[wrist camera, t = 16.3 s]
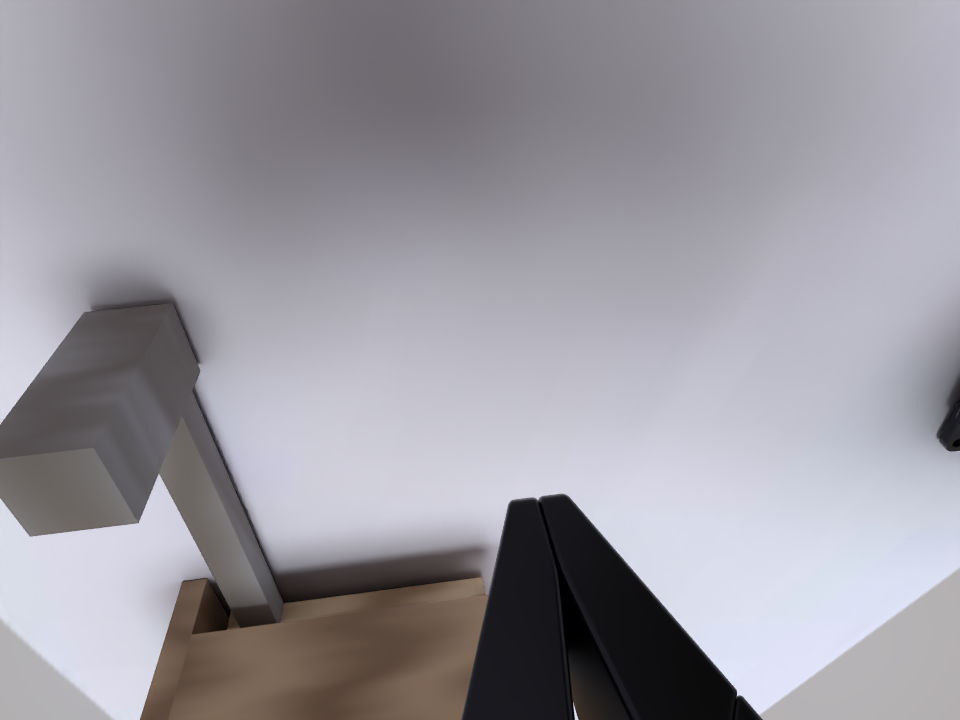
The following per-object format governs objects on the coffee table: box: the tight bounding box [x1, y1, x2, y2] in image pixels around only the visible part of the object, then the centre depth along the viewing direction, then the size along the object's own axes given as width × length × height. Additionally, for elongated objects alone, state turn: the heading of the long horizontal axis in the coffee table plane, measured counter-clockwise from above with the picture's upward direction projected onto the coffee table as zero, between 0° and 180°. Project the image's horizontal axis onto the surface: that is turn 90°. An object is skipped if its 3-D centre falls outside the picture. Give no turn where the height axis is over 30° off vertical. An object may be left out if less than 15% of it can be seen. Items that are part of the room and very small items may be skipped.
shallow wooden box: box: [0, 303, 485, 630], centre depth 24 cm, size 11×27×6 cm, turn 3°
